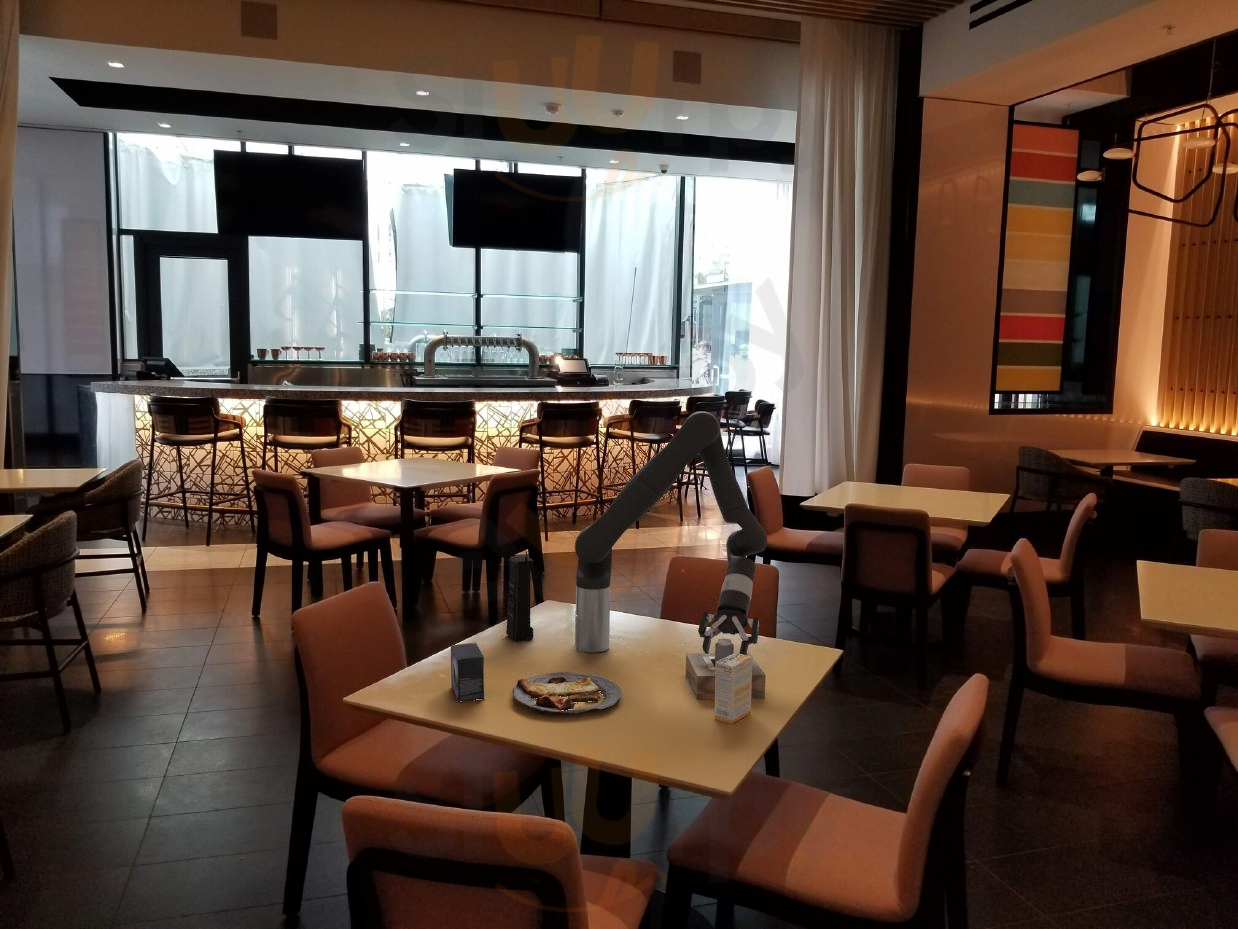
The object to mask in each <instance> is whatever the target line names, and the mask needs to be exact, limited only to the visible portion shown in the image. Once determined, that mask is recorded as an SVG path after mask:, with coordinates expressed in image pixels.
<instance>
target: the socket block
mask: <svg viewBox="0 0 1238 929" xmlns="http://www.w3.org/2000/svg"><path fill="white" fill-rule="evenodd" d="M737 653H738V654H739V653H740V652H737ZM746 656H750V657H752V688H751V699H765V698H766V674H765V672H764V671H763V669H762V668H761V667H760V665H759V664H758V662H757V661H756V660H755V658H754V656H752V654H751V653H750V652H747V655H746ZM685 676H686V679H687V680H688V683H689V685H690V687H691V690H692V692H693V693H694V696H695V698H696V700H715V652H709V653H708V654H705V652H703V653H702V652H700V653H698V652H697V653H693V652H691V653H685Z"/></svg>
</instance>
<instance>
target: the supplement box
mask: <svg viewBox="0 0 1238 929" xmlns="http://www.w3.org/2000/svg"><path fill="white" fill-rule="evenodd" d="M738 653H739V652H734V654H732V655H730V656H727V657H725V658H723V659H721V660H719V661H717V662H716V666H715V699H714V717H713V718H714V719H715V720H718V721H720V722H724V723H727V724H731V725H733V724H735V723H736V722H738V721H739V720H741V719H743V718H745V717H747V716H748V715H750V714H751V713H752V698H751V688H752V657H753V656H752V657H750V656H746V655H742V654H738Z"/></svg>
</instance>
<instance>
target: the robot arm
mask: <svg viewBox="0 0 1238 929" xmlns="http://www.w3.org/2000/svg"><path fill="white" fill-rule="evenodd" d="M698 455H699V456H700V457H701V458H700V459H702V461H703V464H704V466H705V468H706V472H707V475H708V478H709V483H710V486H711V489H712V491H713V496H714V498H715V500H716V504H717V506H718V509H719V512H720V514H721V516H722V519H723V521H724V522H725V523H727V524H737V526H739V527H740V529H739V530H735V531H733V532H731V533H730V534H729V535H728V538H727V540H726V556H727V567H726V573H725V578H724V581H723V583H722V586H721V590H720V595H719V600H718V603H717V604H718V605H717V608H716V612H715V613H714V614H711V613H709V612H708V611H703V613H702V615H701V620H700V622H699V625H698V629H697V632H698V634H699V638H703V642H702V651H703V653H705V654H708V653H710V649H711V648H710V647H711V643H712V639H713V638H714V637H717V636H718V635H720V633H722V634H724V635H733V636H735V635H737V634H738V636H739V638H740V640H741V644H740V648H739V652H738V653H739V654H742V655H747V653H748V649H749V645H751V644H752V645H756V644H758V641H759V640H758V639H759V631H760V630H759V628H760V621H759V618H758V617H756V616H755V617H753V618H748V614H749V610H750V603H751V600H752V595H753V594H752V593H753V584H754V579H755V573H756V563H755V562H754V560H752V559H751V558H750V557H748V556H753V555H756V554H759V553H762V552H763V551H765V550H766V548H767V545H768V537H767V533H766V531H765V529H764V528H763V527H762V525H761V524H760V521H758V519H757V518H756V516H754V514H753V513H752V511H751V510H750V508H749V507H748V504H747V502H746V499H745V496H744V494H743V492H742V489H741V487H740V485H739V482H738V480H737V478H736V476H735V473H734V471H733V469H732V466H731V464H730V462H729V458H728V456H727V453H726V449H725V446H724V441H723V437H722V431H721V423H720V422H719V419H718V418H717V416H716V415H714V414H713V413H711V412H708V411H696V412H693V413H691V414H690V415H689V416H688V417H687V418H686V420H684V423H683V424H682V425H681V426H680V428H679V429H678V430H677V432H676V433H675V435H674V436H673V437H672V438H671V439H670V440H669V442H667V444H666V445H665V446H664V447H663V448H662V449H661V450H660V451H658V453H656V454H655V455H654V456H652V458H650V459H649V460H648V461H647V462H646V463H645V464H644V465H643V466H642V467H641V468H640V469H639V470H638V471H637V472H636V473H635V474H634V475H633V476H632V477H631V478H630V479H629V480H628V481H627V483H626V484H625V485H624V486H623V488H622V489H621V490H620V491H619V493H618V494H617V496H616V497H615V498H614V499H613V501H612V503H611V504H610V505H609V507H608V508H607V510H605V511H604V513H603V514H602V515H601V516H599V517H598V518H597V519H596V520H595V521H594V522H593V523H592V524H591V525H587V526H586V527H584V528H583V529H582V530H581V531H580V532H579V534H578V535H577V537H576V539H575V543H574V551H575V555H576V556H577V567H576V568H577V570H576V575H575V612H574V618H575V619H574V622H575V623H574V648H575V651H576V652H583V653H592V654H593V653H601V652H605V651H608V650H609V648H610V631H611V630H610V629H611V628H610V622H611V621H610V618H611V617H610V616H611V612H610V611H611V578H612V568H613V566H612V562H613V561H612V560H613V559H612V558H613V547H614V546H615V544H617V543H618V540H619V539H620V538H621V537H622V536H623V534H624V533H625V532H626V531H627V530H628V529H629V528H631V527H632V526H633V525H634V524H635V523H636V522H637V521H639V520H640V519H641V518H642V517H643V516H644V515H646V514H647V513H648V512H649V511H650V510H651V509H652V508H653V507H654V506H655V505H656V504H657V503H658V502H659V501H660V500H661V499H662V497H664V496H665V495H666V494H667V492H668V491H669V490H670V489H671V487H672V486H673V484H674V483H676V480H677V479H678V478H679V476H680V475H681V473H682V471H683V470H684V469H685V468H686V467H687V466H688V464H690V462H691V461H692V460H693V459H694V458H696V457H697V456H698ZM712 621H714V623H713V624H712V625H711V626H710V627H709V628H708V625H709V624H710V623H711V622H712ZM748 625H749V627H750V628H751V634H750V635H749V636H748V635H747V633H746V631H745V628H746V627H747V626H748ZM707 628H708V629H707Z"/></svg>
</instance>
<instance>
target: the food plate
mask: <svg viewBox="0 0 1238 929" xmlns="http://www.w3.org/2000/svg"><path fill="white" fill-rule="evenodd" d="M515 685H516V686H514V687H513V688H512V697H513V699H514V700H515V701H516V702H517V703H520V704H522V705H525V706H526V707H528V708H529V709H530V708H531V709H535V710H536V712H538V711H540V712H544V711H547V712H548V713H557V712H559V713H562V714H568V713H569V715H571V714H574V715H578V714H581V713H584V712H589V711H590V710H597V709H598V710H602V709H607V708H609V707H612V706H614V705H615V704H616V703H618V700H619V699H620V698H621V696H622V690H621V688H620V686H619V685H618V684H617V682H615V681H613V680H610V679H608V678H607V677H603V676H601V675H597V674H593V673H581V672H575V671H561V672H553V673H546V674H541V675H535V676H532V677H528V678H521V679H518V680H517V683H516V684H515ZM598 691H601V692H600V693H601V694H603V696H604V697H605V698H603V699H604V701H603V700H602V701H603V702H602V701H601V702H600V703H599V704H597V705H593V706H590V707H588V708H589V709H588V708H582V709H581V708H577V709H576V710H568V709H574V707H575V706H574V705H575V704H576V703H573V702H586V703H589V702H588V701H592V702H591V703H594V702H593V701H598V700H599V699H600V700H601V694H600V693H599V692H598ZM560 696H561V697H567V696H568V699H566V700H565V699H564V698H561V697H560ZM534 698H535V699H534ZM536 698H537V699H536ZM532 699H533V700H532ZM600 700H599V701H600ZM533 701H536V704H535V703H534V702H533ZM577 704H578V703H577ZM561 710H564V711H561ZM566 710H567V711H566Z"/></svg>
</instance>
